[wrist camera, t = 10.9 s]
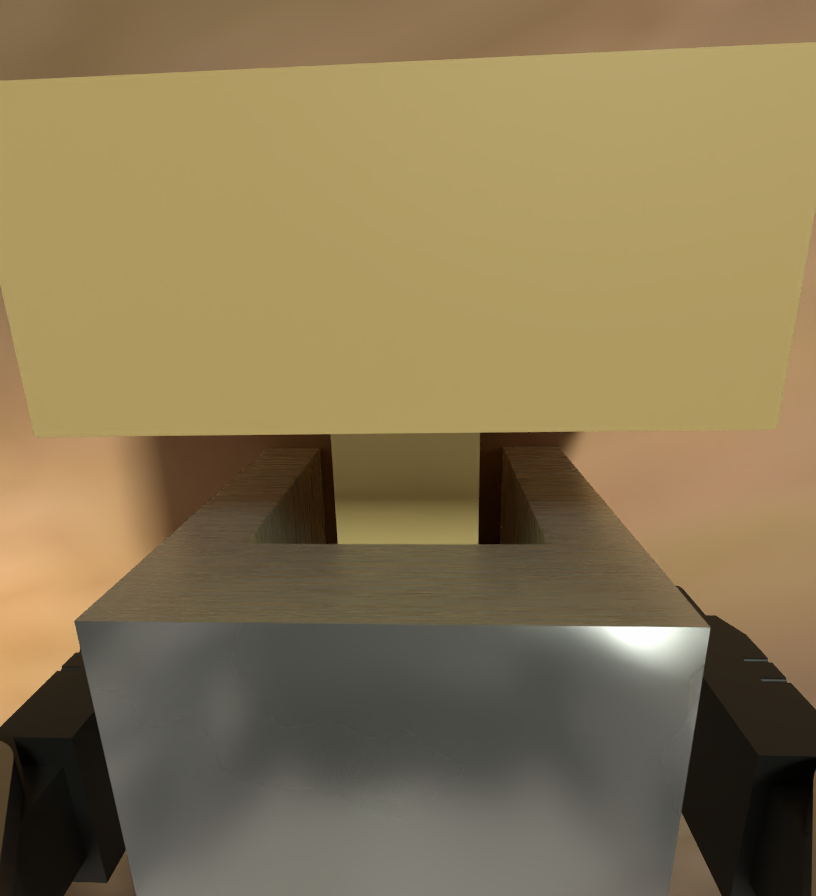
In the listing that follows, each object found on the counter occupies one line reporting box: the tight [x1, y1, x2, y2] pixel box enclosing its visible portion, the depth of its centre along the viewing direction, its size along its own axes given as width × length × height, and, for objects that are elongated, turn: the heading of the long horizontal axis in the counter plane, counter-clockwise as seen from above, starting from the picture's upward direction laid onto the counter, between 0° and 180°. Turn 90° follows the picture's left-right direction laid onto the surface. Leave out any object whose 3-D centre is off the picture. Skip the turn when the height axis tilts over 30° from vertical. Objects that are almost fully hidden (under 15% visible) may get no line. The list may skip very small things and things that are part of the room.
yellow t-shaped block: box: [0, 42, 816, 544], centre depth 9 cm, size 7×17×4 cm, turn 1°
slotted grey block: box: [74, 446, 710, 896], centre depth 8 cm, size 5×7×6 cm
